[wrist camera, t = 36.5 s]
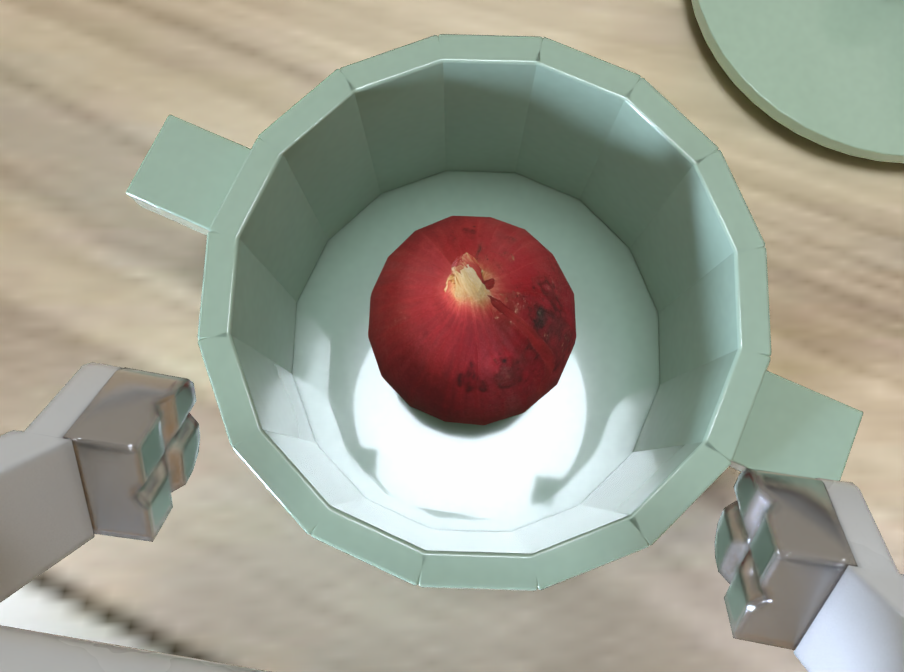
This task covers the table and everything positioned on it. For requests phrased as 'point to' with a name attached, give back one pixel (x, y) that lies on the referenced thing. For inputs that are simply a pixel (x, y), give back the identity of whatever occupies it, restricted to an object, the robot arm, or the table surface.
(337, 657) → the table surface
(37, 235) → the table surface
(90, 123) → the table surface
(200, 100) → the table surface
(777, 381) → the pot
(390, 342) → the onion
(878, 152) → the pot lid
